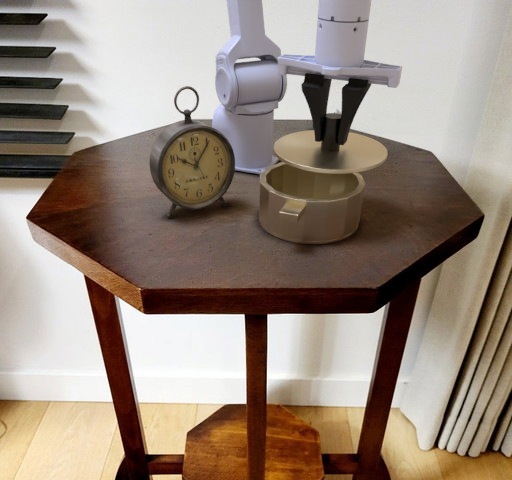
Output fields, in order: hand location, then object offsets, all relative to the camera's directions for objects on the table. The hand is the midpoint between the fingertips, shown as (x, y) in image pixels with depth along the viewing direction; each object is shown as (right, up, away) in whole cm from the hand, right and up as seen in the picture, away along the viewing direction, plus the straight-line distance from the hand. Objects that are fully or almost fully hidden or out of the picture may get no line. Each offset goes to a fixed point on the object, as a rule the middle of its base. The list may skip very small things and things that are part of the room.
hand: (330, 141), depth 69 cm
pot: (-2, -9, +5) cm, 11 cm away
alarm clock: (-18, -7, +8) cm, 21 cm away
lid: (0, -1, +1) cm, 1 cm away
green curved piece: (+4, +12, +32) cm, 35 cm away
